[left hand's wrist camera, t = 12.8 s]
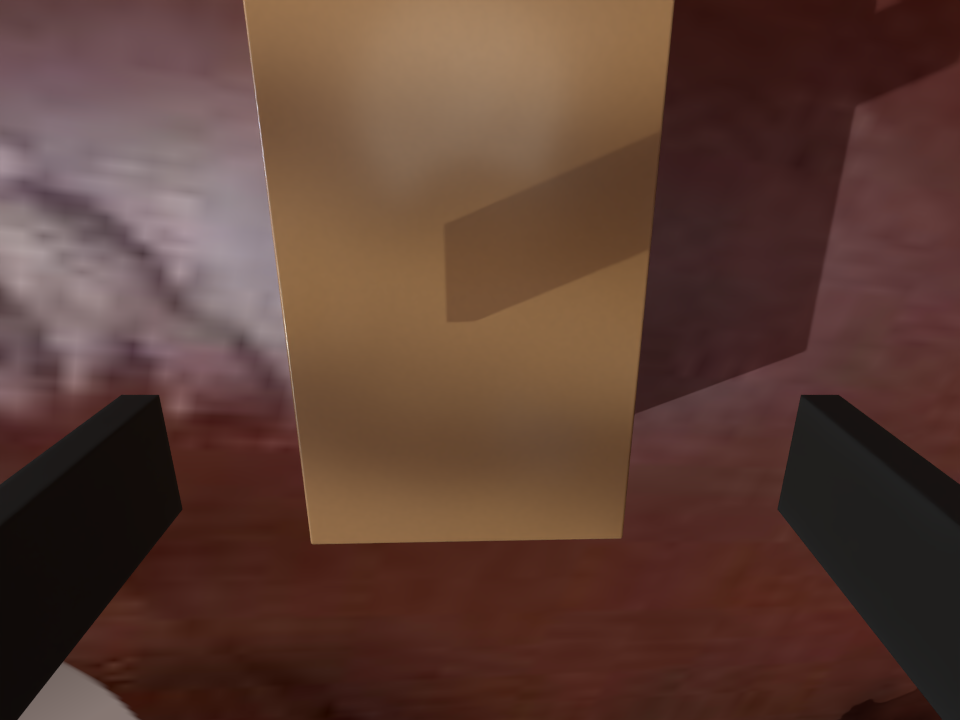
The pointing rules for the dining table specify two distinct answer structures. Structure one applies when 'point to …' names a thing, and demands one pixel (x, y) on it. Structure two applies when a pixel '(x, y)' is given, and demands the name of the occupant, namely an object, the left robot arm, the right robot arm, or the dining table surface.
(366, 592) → the dining table surface
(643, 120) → the slab
